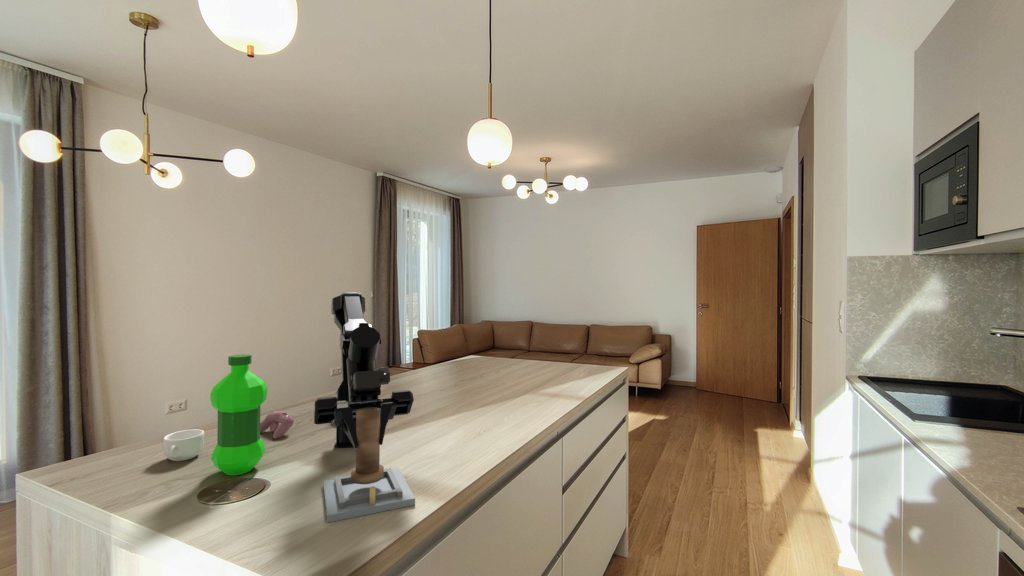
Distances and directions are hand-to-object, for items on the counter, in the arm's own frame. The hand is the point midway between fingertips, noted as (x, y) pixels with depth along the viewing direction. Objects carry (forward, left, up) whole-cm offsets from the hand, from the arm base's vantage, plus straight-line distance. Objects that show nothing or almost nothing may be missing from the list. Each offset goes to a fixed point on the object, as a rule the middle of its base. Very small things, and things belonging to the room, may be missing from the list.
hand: (368, 445), depth 84 cm
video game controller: (-32, +41, -10) cm, 53 cm away
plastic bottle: (-30, +16, -10) cm, 36 cm away
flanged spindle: (0, +1, -7) cm, 7 cm away
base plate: (0, +1, -10) cm, 10 cm away
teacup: (-46, +24, -10) cm, 53 cm away
